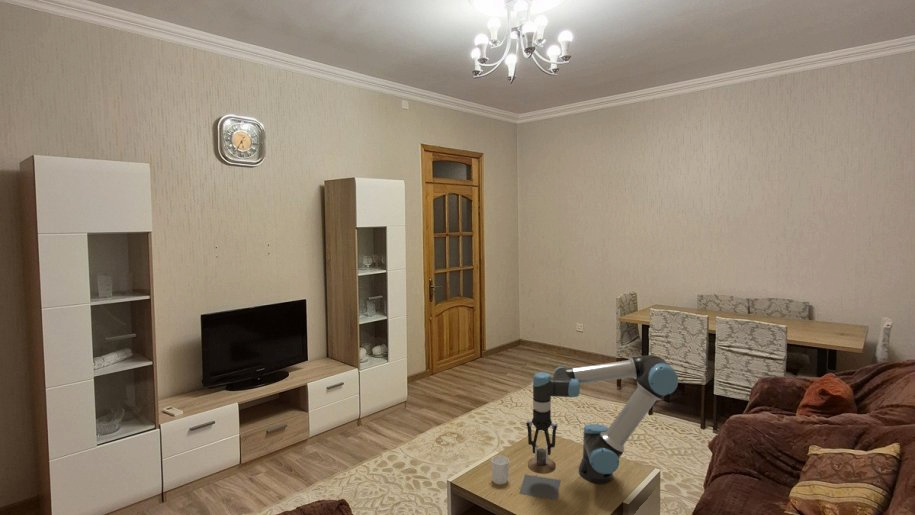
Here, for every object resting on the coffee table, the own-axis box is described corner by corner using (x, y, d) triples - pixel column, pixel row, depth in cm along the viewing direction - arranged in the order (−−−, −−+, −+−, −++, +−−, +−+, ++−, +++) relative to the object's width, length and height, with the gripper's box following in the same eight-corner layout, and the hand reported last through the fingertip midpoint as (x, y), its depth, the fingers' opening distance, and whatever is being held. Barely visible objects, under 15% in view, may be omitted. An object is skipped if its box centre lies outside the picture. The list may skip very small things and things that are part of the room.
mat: (560, 481, 221) (560, 480, 221) (557, 501, 206) (557, 500, 206) (525, 475, 226) (525, 474, 226) (519, 494, 210) (519, 493, 210)
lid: (556, 461, 219) (556, 445, 218) (554, 475, 207) (554, 459, 207) (529, 457, 222) (529, 442, 222) (525, 471, 211) (525, 455, 210)
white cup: (488, 483, 219) (488, 461, 218) (495, 474, 226) (495, 454, 225) (504, 487, 216) (505, 466, 215) (511, 479, 223) (511, 458, 222)
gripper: (562, 407, 213) (562, 459, 216) (523, 403, 218) (523, 454, 221) (561, 414, 206) (560, 467, 209) (520, 410, 211) (520, 462, 213)
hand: (541, 460), depth 215 cm, fingers closed on lid, 4 cm apart
